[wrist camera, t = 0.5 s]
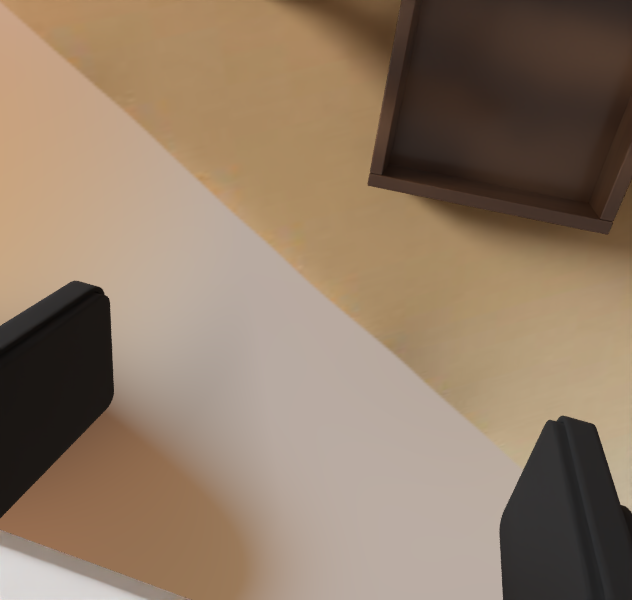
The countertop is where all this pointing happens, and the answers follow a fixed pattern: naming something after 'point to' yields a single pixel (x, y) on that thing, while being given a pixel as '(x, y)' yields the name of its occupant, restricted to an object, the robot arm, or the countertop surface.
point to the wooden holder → (511, 107)
